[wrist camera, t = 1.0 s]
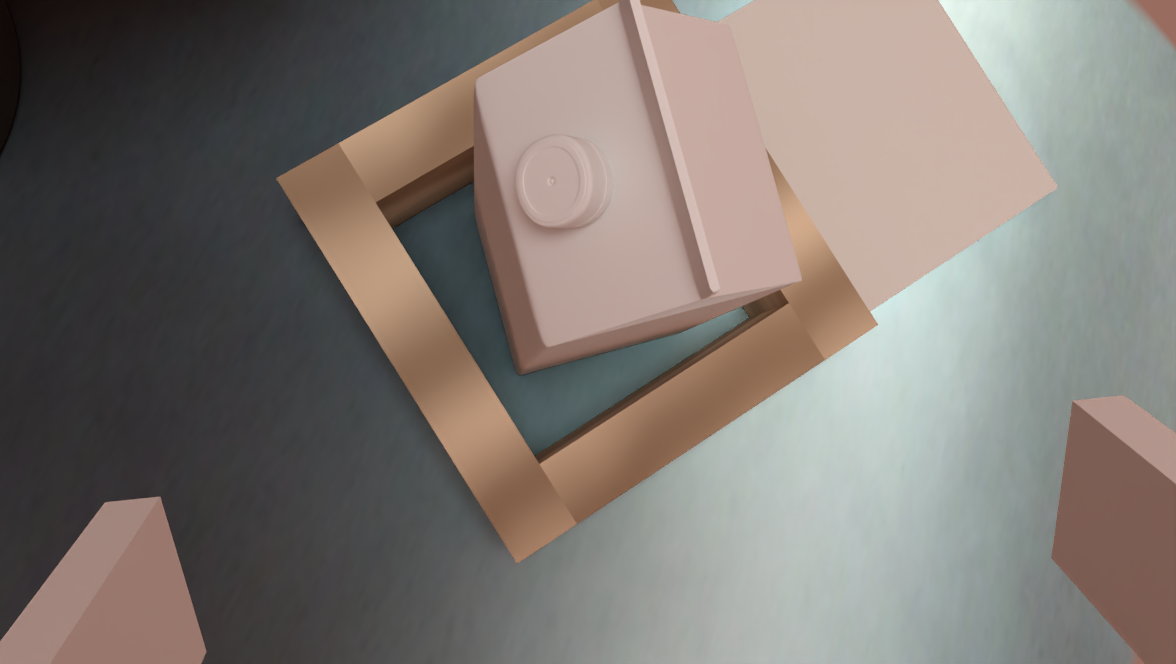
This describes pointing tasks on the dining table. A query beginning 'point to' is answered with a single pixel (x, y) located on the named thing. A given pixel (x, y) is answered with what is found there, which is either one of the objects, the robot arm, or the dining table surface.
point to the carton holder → (453, 379)
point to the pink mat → (884, 132)
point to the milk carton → (623, 186)
